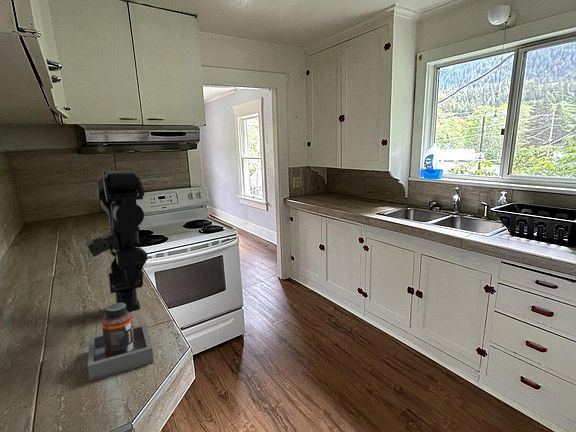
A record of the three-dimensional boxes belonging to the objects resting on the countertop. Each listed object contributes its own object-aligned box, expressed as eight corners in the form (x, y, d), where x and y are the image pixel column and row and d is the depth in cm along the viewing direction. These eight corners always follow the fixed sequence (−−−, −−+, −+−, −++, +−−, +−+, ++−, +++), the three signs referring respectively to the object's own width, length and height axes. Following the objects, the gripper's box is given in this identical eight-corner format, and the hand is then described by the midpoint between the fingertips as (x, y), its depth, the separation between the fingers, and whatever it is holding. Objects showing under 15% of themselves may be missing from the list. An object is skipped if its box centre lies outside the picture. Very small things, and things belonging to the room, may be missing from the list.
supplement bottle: (139, 352, 71) (135, 306, 69) (111, 364, 67) (106, 315, 65) (128, 342, 75) (124, 298, 73) (101, 353, 71) (96, 306, 69)
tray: (90, 350, 73) (89, 337, 73) (146, 336, 79) (145, 323, 79) (89, 381, 63) (87, 366, 62) (153, 362, 69) (152, 348, 68)
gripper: (84, 220, 81) (89, 278, 83) (89, 231, 66) (94, 301, 68) (131, 217, 88) (135, 271, 90) (146, 226, 73) (149, 291, 75)
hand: (128, 282), depth 80 cm, fingers open, 9 cm apart
